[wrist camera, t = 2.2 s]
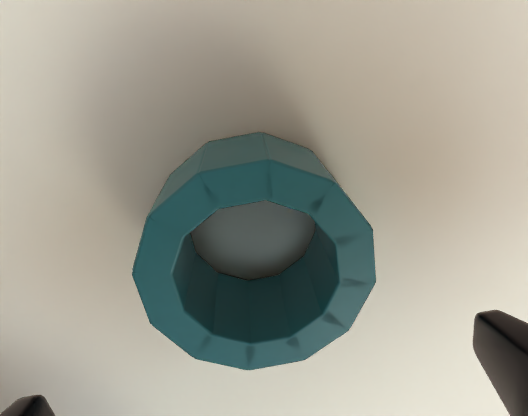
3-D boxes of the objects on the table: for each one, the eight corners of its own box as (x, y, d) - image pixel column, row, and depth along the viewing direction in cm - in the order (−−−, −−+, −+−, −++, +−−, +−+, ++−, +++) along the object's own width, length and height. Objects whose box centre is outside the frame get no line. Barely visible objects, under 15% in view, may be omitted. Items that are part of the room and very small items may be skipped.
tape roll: (185, 314, 15) (172, 385, 12) (134, 154, 12) (99, 190, 9) (349, 284, 15) (380, 347, 12) (333, 117, 12) (368, 140, 9)
